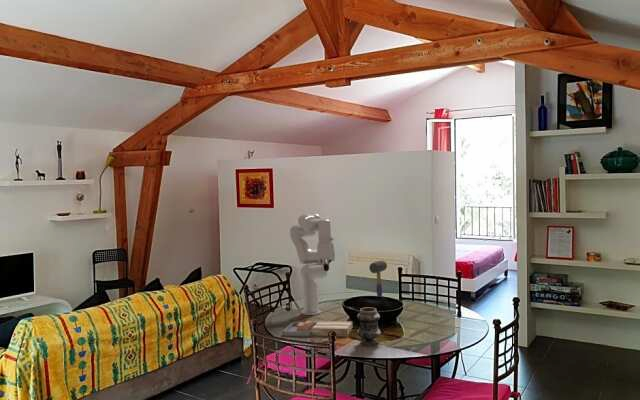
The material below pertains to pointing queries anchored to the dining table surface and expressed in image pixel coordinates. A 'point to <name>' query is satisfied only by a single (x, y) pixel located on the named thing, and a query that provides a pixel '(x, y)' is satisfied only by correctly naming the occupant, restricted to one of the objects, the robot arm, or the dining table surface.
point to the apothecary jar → (368, 326)
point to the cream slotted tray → (332, 328)
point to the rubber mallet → (378, 274)
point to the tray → (292, 330)
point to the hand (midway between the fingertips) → (326, 270)
